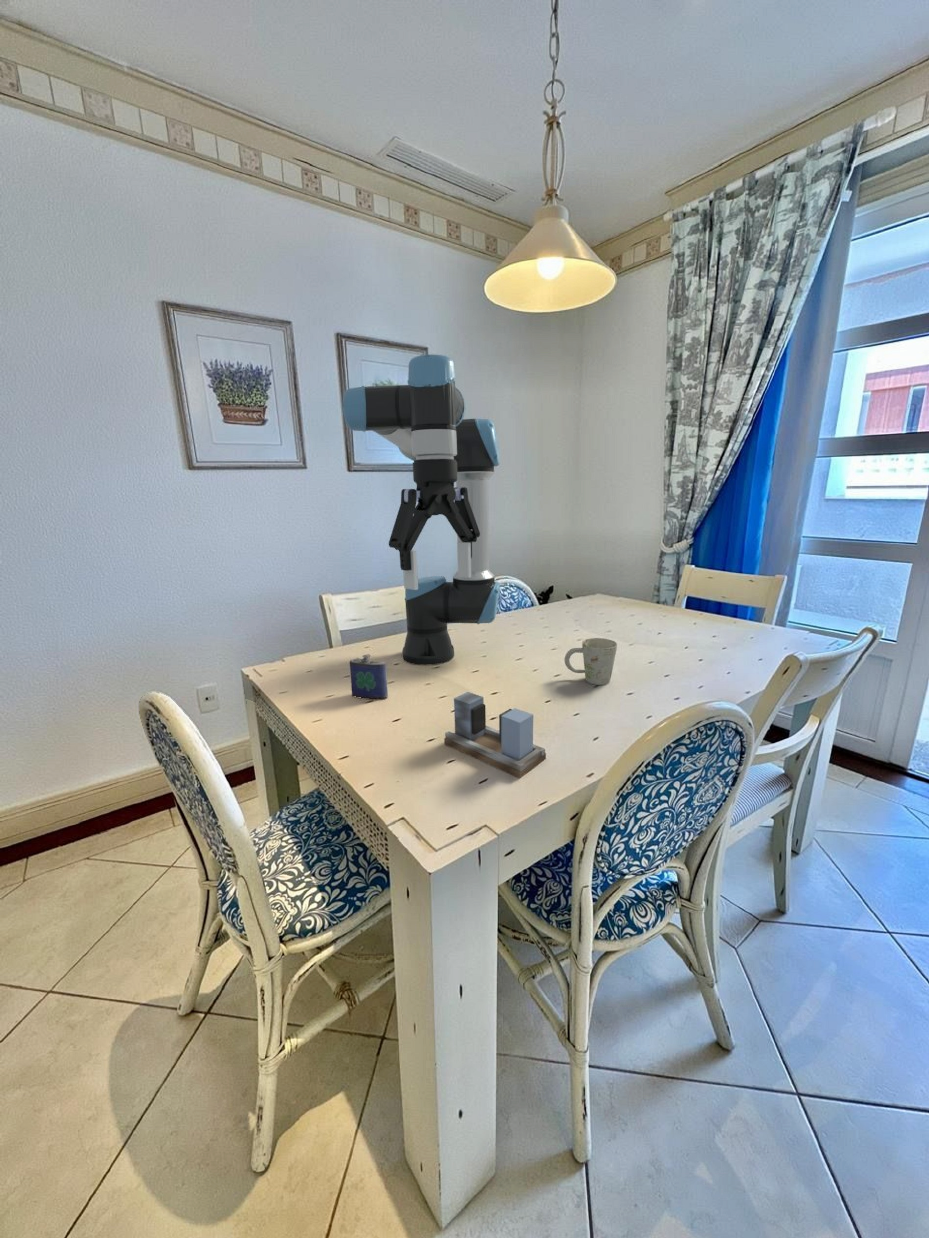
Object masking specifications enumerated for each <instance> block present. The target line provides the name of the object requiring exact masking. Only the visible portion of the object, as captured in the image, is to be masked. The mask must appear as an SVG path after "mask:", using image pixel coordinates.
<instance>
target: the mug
mask: <svg viewBox="0 0 929 1238" xmlns="http://www.w3.org/2000/svg"><path fill="white" fill-rule="evenodd" d="M581 646H582V647H574V648H573V647H572V648H571V649H569V650H567V652H566V654H565V656H564V664H565V666H566V668H567V669H568V670H570V671H571V673H575V674H584V677H585V681H586V682H587V683H588V684H591V685H596V686H604V685H608V684H610V682H611V678H612V675H613V669H614V663H615V659H616V654H617V650H618V649H617V648H618V643H617V642H616V641H615V640H612V639H609V638H603V637H602V638H601V637H591V638H586V639H584V640H583V641H582V642H581ZM575 653H579V654H581V653H582V658H583V666H584V667H583V669H576V668H575V667H573V666H572V664H571V663H570V662H571V661H570V658H571V656H572V655H573V654H575Z"/></svg>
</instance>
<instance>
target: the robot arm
mask: <svg viewBox="0 0 929 1238" xmlns="http://www.w3.org/2000/svg"><path fill="white" fill-rule="evenodd" d="M407 377H408V379H407V384H399V385H397V384H396V385H395V384H394V385H374V386H373V385H372V386H365V385H362V386H358V387H357V386H356V387H352V388H351V387H350V388H347V389H346V390H345V391H344V393H343V396H342V414H343V419H344V422H345V424H346V426H347V427H348V428H349V429H350V430H351V431H355V432H357V431H358V432H363V433H365V432H367V431H368V432H369V431H372V432H374V433H376V434H377V435H379V436H380V437H382V438H383V439H385V440H387V441H388V442H389V443H392V444H393V445H394V446H396V447H397V449H398V450H399V452H400V453H401V454H402V455H403V456H404V457H406V458H407V459H409V460H411V461H413V462H412V476H413V477H412V478H413V482H414V483H415V484H416V487H415V488H403V489H401V492H400V504H399V505H400V506H399V508H398V511H397V514H396V518H395V521H394V525H393V527H392V531H391V533H390V534H391V535H390V538H389V540H388V547H389V548H393V549H395V550H397V551H398V552H399V564H400V565H399V566H400V570H402V571H403V588H404V590H405V595H404V596H405V597H404V601H405V602H404V603H405V615H406V637H405V641H404V646H403V647H402V651H401V652H402V655H401V656H402V660H403V661H405V662H406V663H408V664H411V665H416V666H432V665H440V664H444V663H447V662H449V661H451V660H452V659H453V658H454V657H455V647H454V645H453V643H452V640H451V637H450V633H449V631H448V624H477V625H480V624H490V623H493V622H494V621H495V620H496V617H497V616H496V615H497V610H498V603H499V597H500V587H501V583H500V582H498V581H495V580H496V579H495V578H496V577H495V574H494V573H493V572H492V571H491V570H490V539H489V538H490V533H489V532H490V527H489V525H490V524H489V523H490V521H489V519H490V517H489V515H490V514H489V509H490V508H489V480H490V479H491V477H492V476H493V475H494V474H495V467H498V466H499V465H500V462H501V461H500V451H499V444H498V443H499V442H498V436H497V431H496V426H495V424H494V422H493V421H492V420H491V419H488V418H477V417H476V418H475V417H474V418H465V414H466V403H465V399H464V396H463V394H462V392H461V391H460V390H459V389H458V388H457V387H456V379H457V376H456V371H455V363H454V361H453V359H452V358H450V357H449V356H447V355H445V354H444V355H443V354H433V353H432V354H422V355H417V356H414V357H412V358H411V359H410V361H409V362H408V376H407ZM439 515H442V516H444V517H445V518H446V520H447V522H449V525H450V526H451V528H452V529H453V530H454V532H455V534H456V536H457V538H456V539H457V540H456V541H457V542H456V544H457V545H456V546H457V547H456V549H457V551H456V553H457V554H456V555H457V571H456V572H455V573H453V575H452V581H447V578H446V576H443V575H433V576H432V575H431V576H425V577H422V578H421V577H420V578H418V560H417V559H418V558H417V555H418V553H417V550H413V549H414V547H415V544H416V542H417V541H418V539H419V537H420V535H421V534H422V531H423V529H424V528H425V525H426V524H427V521H428V520H429V519H431V518H432V517H433V516H439Z"/></svg>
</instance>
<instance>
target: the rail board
mask: <svg viewBox="0 0 929 1238" xmlns="http://www.w3.org/2000/svg"><path fill="white" fill-rule="evenodd" d="M453 701H454V702H453V712H454V713H453V714H454V732H452V731H449V730H448V731H446V732H445V735H444V741H443V742H444V745H447V746H448V747H450V748H453V749H455V750H458V751H459V752H461V753H464V754H466V755H468V756H470V757H472V758H474V759H477V760H479V761H480V762H483V763H485V764H488V765H489V766H492V767H494V768H496V769H498V770H500V771H503V772H505V773H508V774H510V775H511V776H514V777H516V778H519V779H522V777H524V776H525V775H527V774H528V773H529V772H530V771H532V770H533V769H535V767H537V766H538V765H540V764H542V762H544V761H545V760H546V759H547V753H546V748H544V747H541V746H539V745H536V744H534V743H533V752H531V753H530V754H528V755H527V756H526V757H524V758H523V759H521V760H520V761H517V760H515V759H512V758H510V757H508V756H505V755H503V754H502V741H500V740H499V730H498V729H496V728H493V727H490V726H488V725H487V724H486V723H487V721H486V719H487V718H486V713H487V711H486V704H485V703H484V696H481V695H479V694H475V693H473V692H469V691H467V692H465V693H462V694H460V695H458V696H456V697H454V698H453Z"/></svg>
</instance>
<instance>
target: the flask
mask: <svg viewBox="0 0 929 1238" xmlns="http://www.w3.org/2000/svg"><path fill="white" fill-rule="evenodd" d="M362 657H363V658H359V657H357V658H354V659H350V661H349V671H350V673H349V674H350V683H351V684H350V685H351V688H350V689H351V696H352V697H353V696H356V697H361V698H360V699H362V698H369V699H368V700H378V699H380V700H386V699H388V697H389V693H388V680H387V665H386V662H385V661H383V660H381V661H378V660H370V657H371V654H369V653H367V654H363V655H362ZM356 697H355V698H356Z"/></svg>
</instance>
